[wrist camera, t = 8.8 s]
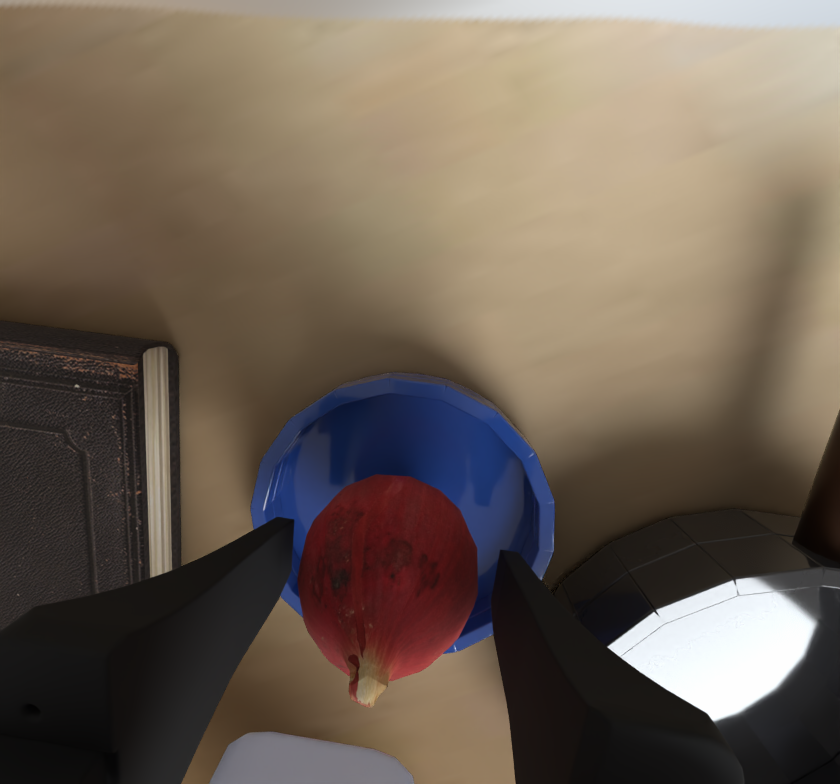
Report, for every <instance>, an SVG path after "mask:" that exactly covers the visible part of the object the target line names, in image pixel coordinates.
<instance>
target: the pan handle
mask: <svg viewBox="0 0 840 784" xmlns="http://www.w3.org/2000/svg"><path fill="white" fill-rule="evenodd" d="M794 539H795V540H796V541H797V542H798V543H799V544H800V545H802V546H803V547H805V548H806V549H808V550H810V551H812V552H814V553H816V554H818V555H820V556H823V557H825V558H827V559H830V560H833V561H836V562H839V563H840V410H839V413H838V416H837V418H836V421H835V424H834V427H833V429H832V432H831V435H830V438H829V440H828V443H827V446H826V449H825V452H824V454H823V457H822V460H821V463H820V465H819V468H818V471H817V474H816V477H815V479H814V482H813V485H812V488H811V490H810V493H809V496H808V499H807V501H806V504H805V507H804V510H803V513H802V515H801V518H800V521H799V524H798V526H797V529H796V532H795V535H794Z"/></svg>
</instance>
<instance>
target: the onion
mask: <svg viewBox="0 0 840 784" xmlns="http://www.w3.org/2000/svg"><path fill="white" fill-rule="evenodd" d="M297 581H298V590H299V597H300V603H301V608H302V614H303V620H304V623H305V625H306V628H307V630H308V633H309V634H310V636H311V637H312V638H313V640H314V641H315V643H316V644H317V646H318V647H319V649H320V650H321V652H322V653H323V655H324V656H325V657H326V658H327V659H328V660H329V661H330V662H331V663H332V664H334V665H335V666H336V667H338V668H339V669H340V670H342V671H343V672H344V673H346V674H347V675H348V676H350V683H349V694H350V698H351V700H353V701H355V702H357V703H359V704H361V705H363V706H365V707H373V705H374V703H375V702H376V700H377V698H378V696H379V695H380V694H381V693H382V692H383V691H384V690H385V689H386V688H387V687H388V682H389V681H393V680H396V679H399V678H402V677H405V676H408V675H411V674H414V673H417V672H420V671H422V670H423V669H425V668H427V667H428V666H429V665H430V664H432V663H433V662H434V661H435V660H436V659H437V658H438V657H439V656H441V655H442V654H443V653H444V652H445V651H446V650H447V649H448V648H450V647H451V646H452V644H453V643H454V642H455V641H456V640H457V639H458V637H459V636H460V634H461V632H462V630H463V628H464V626H465V624H466V622H467V620H468V618H469V615H470V613H471V611H472V609H473V607H474V604H475V601H476V598H477V595H478V562H477V546H476V544H475V542H474V540H473V538H472V536H471V534H470V532H469V529H468V527H467V524H466V522H465V520H464V517H463V515H462V513H461V510H460V509H459V508H458V507H457V506H456V505H455V504H454V503H453V502H452V501H451V500H450V499H449V498H448V497H447V496H446V495H445V494H444V493H443V492H442V491H441V490H439V489H437V488H435V487H432V486H430V485H428V484H426V483H424V482H421V481H419V480H417V479H415V478H413V477H410V476H395V475H380V474H376V475H373V476H371V477H368V478H366V479H363V480H360V481H358V482H355V483H353V484H350V485H348V486H345V487H344V488H343V489H342V490H341V491H340V492H339V493H338V494H337V495H336V496H335V497H334V498H333V499H332V500H331V501H330V503H329V504H328V505H327V506H326V507H325V508H324V509H323V510H322V511H321V512H320V514H319V515H318V516H317V517H316V518H315V519H314V521H313V523H312V525H311V527H310V529H309V531H308V533H307V535H306V540H305V544H304V548H303V553H302V557H301V561H300V566H299V572H298V579H297Z"/></svg>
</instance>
